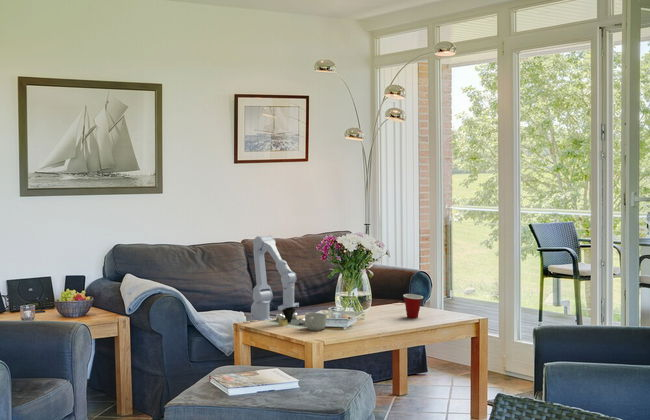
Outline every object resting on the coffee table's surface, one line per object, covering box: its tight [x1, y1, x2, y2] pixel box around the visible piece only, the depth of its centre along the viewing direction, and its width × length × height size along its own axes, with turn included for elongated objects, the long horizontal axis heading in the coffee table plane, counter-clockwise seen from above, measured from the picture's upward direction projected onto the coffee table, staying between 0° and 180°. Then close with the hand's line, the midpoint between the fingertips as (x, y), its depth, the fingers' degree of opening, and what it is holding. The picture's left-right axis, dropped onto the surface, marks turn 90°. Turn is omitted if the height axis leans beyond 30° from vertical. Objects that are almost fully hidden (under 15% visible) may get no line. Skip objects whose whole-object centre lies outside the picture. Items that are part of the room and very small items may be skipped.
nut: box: [278, 318, 288, 327], centre depth 432 cm, size 5×4×3 cm
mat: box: [262, 318, 307, 330], centre depth 438 cm, size 24×20×1 cm
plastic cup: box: [403, 293, 424, 319], centre depth 461 cm, size 11×11×12 cm
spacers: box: [275, 312, 305, 325], centre depth 442 cm, size 24×13×3 cm, turn 53°
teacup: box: [304, 312, 328, 332], centre depth 422 cm, size 14×11×8 cm
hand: (288, 322), depth 436 cm, fingers closed
